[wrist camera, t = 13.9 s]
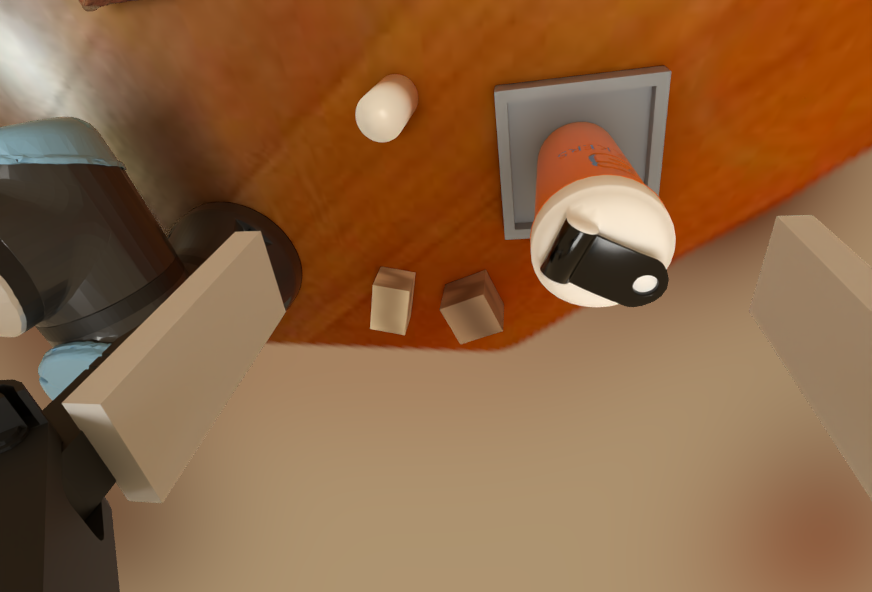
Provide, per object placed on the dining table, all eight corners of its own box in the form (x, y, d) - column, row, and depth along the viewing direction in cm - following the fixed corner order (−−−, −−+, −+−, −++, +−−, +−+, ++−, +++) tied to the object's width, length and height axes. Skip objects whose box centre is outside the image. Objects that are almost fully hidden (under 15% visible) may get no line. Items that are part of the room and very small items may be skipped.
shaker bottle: (606, 214, 49) (650, 345, 33) (516, 194, 49) (514, 315, 33) (643, 121, 44) (717, 221, 28) (542, 100, 44) (556, 187, 28)
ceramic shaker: (380, 121, 48) (361, 144, 43) (371, 76, 46) (350, 94, 40) (421, 117, 48) (408, 139, 42) (414, 71, 45) (399, 88, 40)
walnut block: (464, 317, 60) (460, 344, 56) (445, 284, 58) (439, 309, 53) (504, 304, 58) (502, 331, 54) (485, 269, 56) (483, 294, 52)
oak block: (378, 308, 61) (370, 328, 58) (381, 265, 57) (372, 284, 54) (411, 314, 61) (404, 335, 57) (415, 271, 57) (409, 291, 54)
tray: (505, 228, 53) (505, 239, 51) (495, 85, 45) (494, 91, 43) (649, 218, 50) (655, 230, 48) (663, 65, 42) (671, 71, 40)
